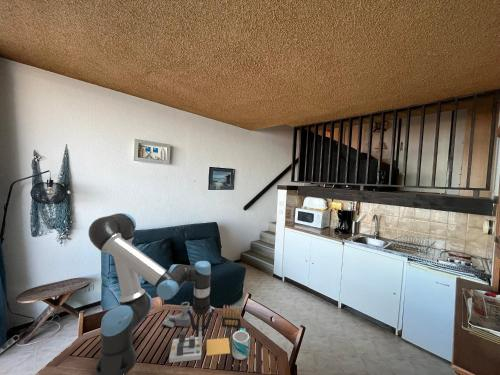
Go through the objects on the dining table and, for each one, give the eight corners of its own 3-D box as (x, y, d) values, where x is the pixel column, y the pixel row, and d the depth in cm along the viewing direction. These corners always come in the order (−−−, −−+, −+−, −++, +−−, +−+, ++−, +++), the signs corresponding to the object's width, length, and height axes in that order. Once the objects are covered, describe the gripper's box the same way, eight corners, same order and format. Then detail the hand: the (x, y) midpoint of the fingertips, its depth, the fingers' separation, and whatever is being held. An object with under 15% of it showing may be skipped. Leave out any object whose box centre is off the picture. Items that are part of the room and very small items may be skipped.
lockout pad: (206, 356, 104) (206, 355, 104) (206, 340, 114) (206, 339, 114) (230, 353, 106) (230, 352, 106) (228, 338, 116) (228, 337, 116)
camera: (188, 308, 121) (161, 307, 122) (188, 330, 122) (161, 328, 123) (193, 300, 130) (168, 298, 131) (193, 320, 130) (168, 318, 132)
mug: (230, 358, 104) (231, 340, 103) (234, 339, 116) (235, 324, 115) (248, 360, 103) (248, 342, 103) (250, 341, 115) (251, 325, 115)
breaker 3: (188, 348, 106) (189, 339, 106) (189, 343, 109) (189, 335, 108) (194, 347, 106) (194, 338, 106) (194, 343, 109) (195, 335, 109)
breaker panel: (168, 362, 100) (169, 357, 100) (173, 343, 112) (173, 338, 112) (200, 359, 103) (201, 354, 102) (201, 340, 114) (201, 336, 114)
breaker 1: (179, 342, 109) (179, 334, 109) (179, 339, 112) (179, 331, 111) (184, 342, 110) (184, 334, 109) (185, 338, 112) (185, 330, 112)
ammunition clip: (240, 325, 127) (241, 304, 127) (240, 327, 125) (241, 306, 125) (222, 324, 128) (222, 303, 127) (221, 326, 126) (222, 305, 125)
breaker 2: (176, 355, 101) (176, 347, 101) (177, 351, 104) (177, 342, 104) (182, 355, 102) (182, 346, 101) (183, 350, 104) (183, 342, 104)
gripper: (186, 299, 102) (185, 349, 103) (215, 298, 105) (213, 347, 106) (188, 291, 110) (186, 338, 111) (215, 290, 112) (213, 335, 113)
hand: (199, 342), depth 108 cm, fingers closed
